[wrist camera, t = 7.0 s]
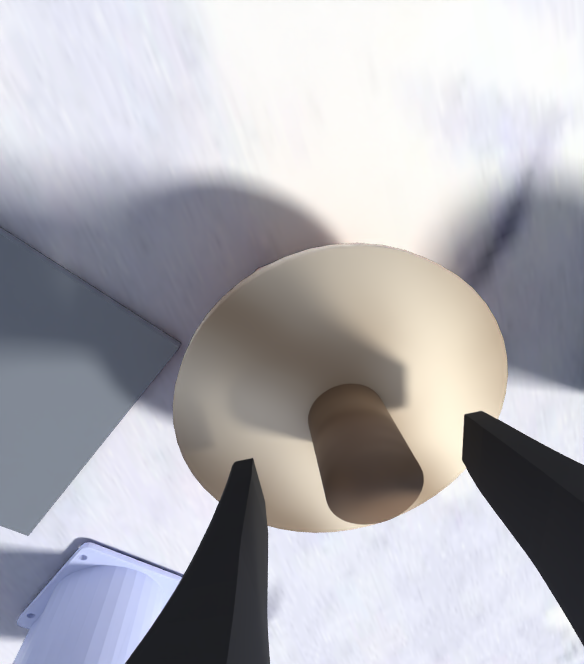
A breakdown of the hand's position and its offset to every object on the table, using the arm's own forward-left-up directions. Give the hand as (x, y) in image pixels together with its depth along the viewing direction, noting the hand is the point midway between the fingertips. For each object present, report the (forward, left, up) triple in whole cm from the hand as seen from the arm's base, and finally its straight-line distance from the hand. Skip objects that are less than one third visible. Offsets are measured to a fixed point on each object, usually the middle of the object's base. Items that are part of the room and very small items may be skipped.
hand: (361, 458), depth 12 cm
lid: (0, 0, -3) cm, 3 cm away
